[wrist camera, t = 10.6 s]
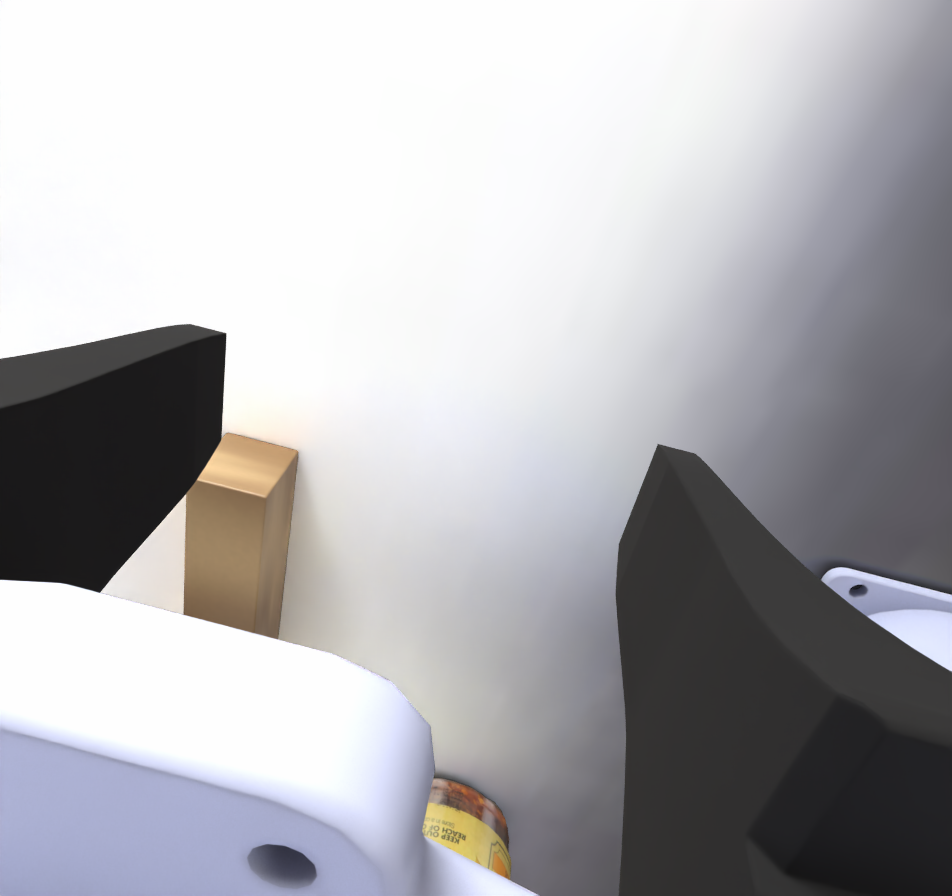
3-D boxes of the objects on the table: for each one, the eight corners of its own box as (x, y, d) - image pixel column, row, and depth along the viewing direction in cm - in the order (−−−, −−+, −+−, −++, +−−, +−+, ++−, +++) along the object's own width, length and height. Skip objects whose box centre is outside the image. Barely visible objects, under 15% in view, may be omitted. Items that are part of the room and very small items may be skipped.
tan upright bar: (296, 833, 34) (273, 894, 32) (168, 798, 34) (135, 858, 32) (353, 464, 24) (326, 512, 22) (172, 417, 24) (125, 460, 22)
